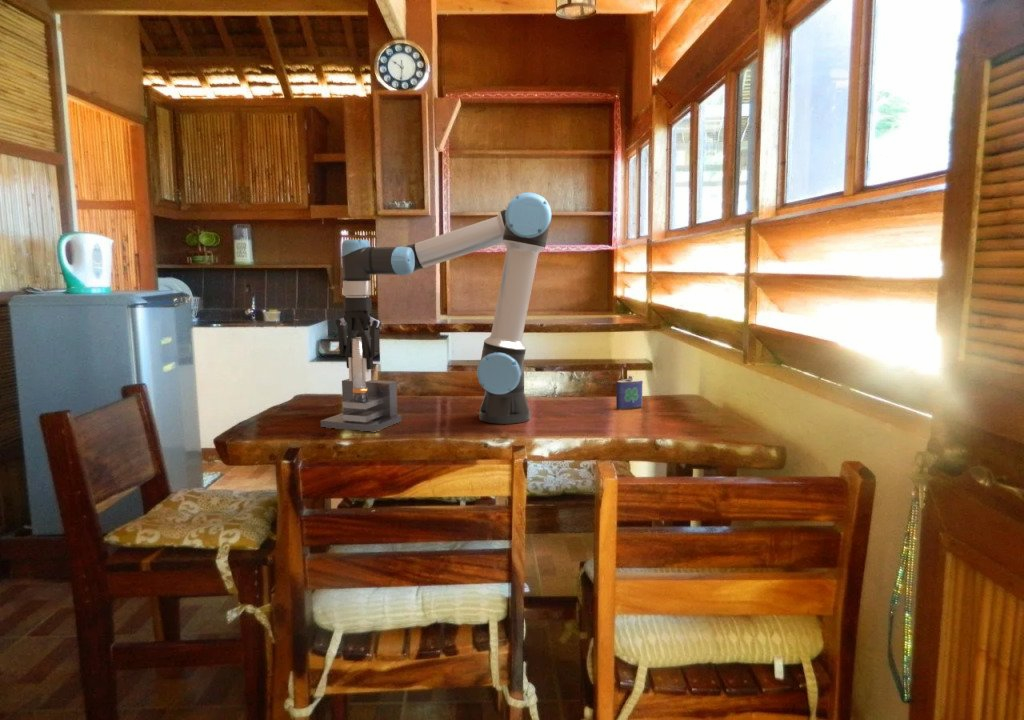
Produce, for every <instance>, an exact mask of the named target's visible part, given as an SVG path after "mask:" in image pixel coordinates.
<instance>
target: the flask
mask: <svg viewBox="0 0 1024 720" xmlns="http://www.w3.org/2000/svg"><path fill="white" fill-rule="evenodd" d="M633 378H634V376H633V375H632V374H631V375H630V374H629V375H628V377H627V378H626V379H625V378H624V379H620V380H618V381H616V386H615V387H616V389H615V390H616V391H615V392H616V394H615V395H616V398H615V399H616V405H615V406H616V407H615V408H616V410H617V411H625V410H634V409H635V410H636V409H637V410H638V409H642V408H643V382H644V381H643V379H633Z"/></svg>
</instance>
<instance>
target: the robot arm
mask: <svg viewBox="0 0 1024 720" xmlns="http://www.w3.org/2000/svg"><path fill="white" fill-rule="evenodd" d="M552 217H553V216H552V209H551V206H550V204H549V202H548V200H546V198H545V197H544V196H542V195H541V194H537V193H535V192H523V193H520V194H518V195H516V196H514V197H513V198H512V199H511V200H510V202H509V203H508V205H507V206H506V209H504V210H501V211H499V212H498V215H497V216H493V217H490V218H489V219H488V218H487V219H485V220H481V221H479V222H478V221H477V222H476V223H473V224H470V225H466V226H463V227H461V228H458V229H455V230H451V231H449V232H445V233H442V234H440V235H436V236H434V237H430V238H428V239H425V240H422V241H418V242H415V243H413V244H409V245H406V246H383V247H382V246H380V247H379V246H378V247H375V246H371V244H370V241H369V240H368V239H345V240H344V241H343V242H342V243H341V255H340V256H341V266H342V267H341V268H342V269H341V270H342V295H343V296H345V297H344V298H343V310H344V315H343V317H342V318H339V319H336V320H335V324H336V327H337V334H338V348H339V350H338V351H339V354H340V355H343V356H345V361H346V362H345V363H346V364H345V365H346V368H347V369H348V379H349V381H352V380H353V371H352V344H351V338H356V337H357V335H358V333H359V335H360V337H361V338H362V343H363V348H364V353H365V356H364V358H363V379H364V382H366V381H370V380H372V369H373V368H374V357H376V356H378V355H380V327H381V325H382V320H380V319H376V318H374V317H373V314H372V307H373V305H372V298H371V297H370V296H371V295H372V286H371V285H372V284H371V283H372V282H371V281H372V280H371V275H372V276H376V275H382V276H387V275H388V276H389V275H390V276H395V275H396V276H406V275H412V274H413V273H414V272H416V271H419V270H423V269H425V268H429V267H431V266H434V265H437V264H440V263H443V262H447V261H450V260H453V259H456V258H460V257H462V256H465V255H469V254H471V253H474V252H477V251H481V250H483V249H484V250H485V249H486V248H490V247H494V246H497V245H500V244H502V243H503V244H504V246H505V248H506V250H505V251H506V252H505V257H504V262H503V268H502V273H501V279H500V284H499V288H498V294H497V299H496V301H497V302H496V306H495V310H494V315H493V316H494V317H493V323H492V327H491V334H490V335H489V337H487V338H485V339H484V341H483V345H482V352H481V357H480V361H479V362H478V364H477V368H476V375H477V380H478V382H479V384H480V386H481V388H483V389H484V395H483V398H482V402H481V406H480V409H479V415H478V416H479V417H478V418H479V420H480V421H482V422H485V423H488V424H498V425H499V424H502V425H503V424H504V425H505V424H506V425H509V424H518V423H519V424H520V423H524V422H527V421H529V420H530V419H531V409H530V406H529V403H528V400H527V398H526V394H525V356H526V350H527V347H526V346H525V344H524V343H523V336H524V330H525V326H526V322H527V317H528V316H527V314H528V311H529V304H530V299H531V295H532V294H531V293H532V288H533V284H534V278H535V272H536V268H537V262H538V257H539V255H540V253H542V252H543V251H544V250H546V246H547V241H548V236H549V231H550V227H551V225H552V219H553V218H552Z"/></svg>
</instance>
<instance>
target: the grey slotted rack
mask: <svg viewBox="0 0 1024 720" xmlns="http://www.w3.org/2000/svg"><path fill="white" fill-rule="evenodd" d="M397 385H398V382H397V381H394V380H380V379H378V380H377V379H371V380H370V381H368V402H366V403H357V402H354V398H353V380H352V381H349V378H347V379H343V380H341V392H342V393H341V395H342V402H341V404H342V405H341V406H342V412H341V413H339V414H336V415H333V416H329V417H326V418H324V419H321V420H320V428H321V427H326V428H325V429H331V428H335V429H334V430H342V429H346V430H345V431H352V430H361V431H360V432H363V431H378V430H380V429H383V428H385V427H388V426H390V427H392V426H391V425H393V424H395V425H397V424H396V423H398V424H400V423H402V422H401V421H402V420H403V419H402V414H398V386H397ZM399 422H400V423H399ZM393 426H394V425H393ZM388 428H389V427H388ZM383 430H384V429H383Z"/></svg>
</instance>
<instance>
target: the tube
mask: <svg viewBox="0 0 1024 720" xmlns="http://www.w3.org/2000/svg"><path fill="white" fill-rule="evenodd" d="M351 344H352V371H353V398H354V402H357V403H366V402H368V381H366V382H364V379H363V358H364V356H365V353H364V348H363V343H362V338H361V336H359V337H357V336H356V338H351Z"/></svg>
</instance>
